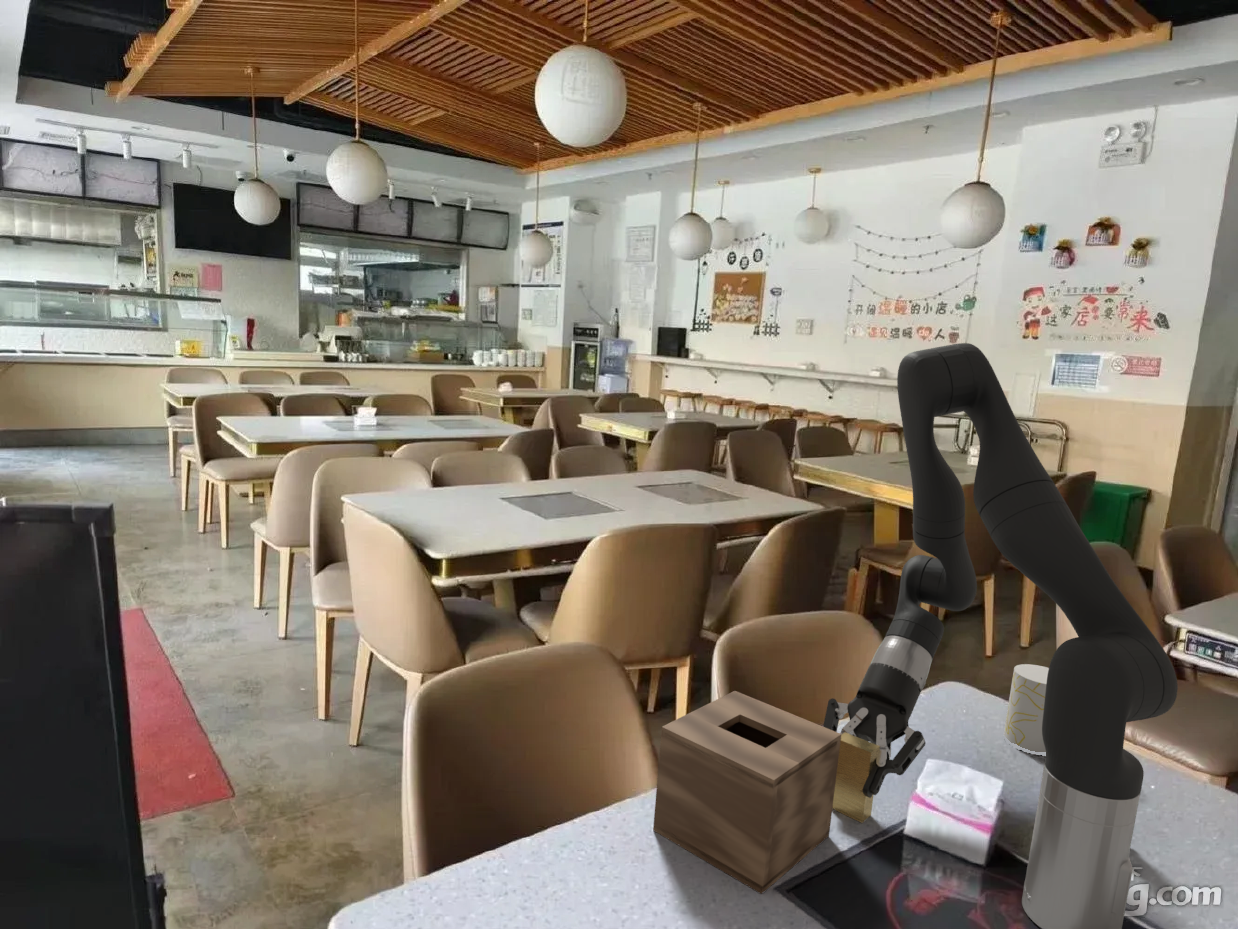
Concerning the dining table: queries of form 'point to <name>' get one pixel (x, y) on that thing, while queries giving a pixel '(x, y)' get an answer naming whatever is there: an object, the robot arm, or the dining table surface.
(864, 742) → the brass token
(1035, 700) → the cup
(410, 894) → the dining table surface
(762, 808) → the box
